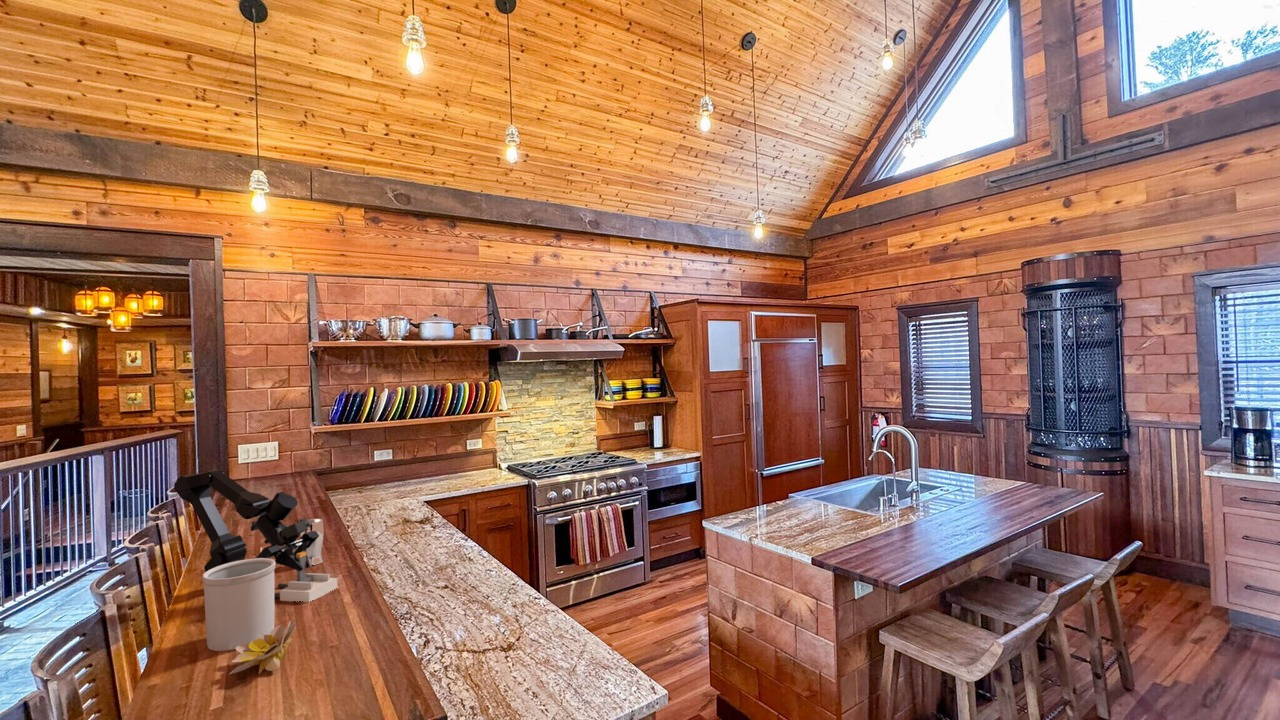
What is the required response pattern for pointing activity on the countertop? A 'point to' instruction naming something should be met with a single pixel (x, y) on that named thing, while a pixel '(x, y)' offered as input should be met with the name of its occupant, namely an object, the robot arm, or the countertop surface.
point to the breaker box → (307, 588)
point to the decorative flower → (265, 649)
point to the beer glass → (315, 548)
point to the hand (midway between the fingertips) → (305, 568)
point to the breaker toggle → (302, 574)
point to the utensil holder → (239, 602)
